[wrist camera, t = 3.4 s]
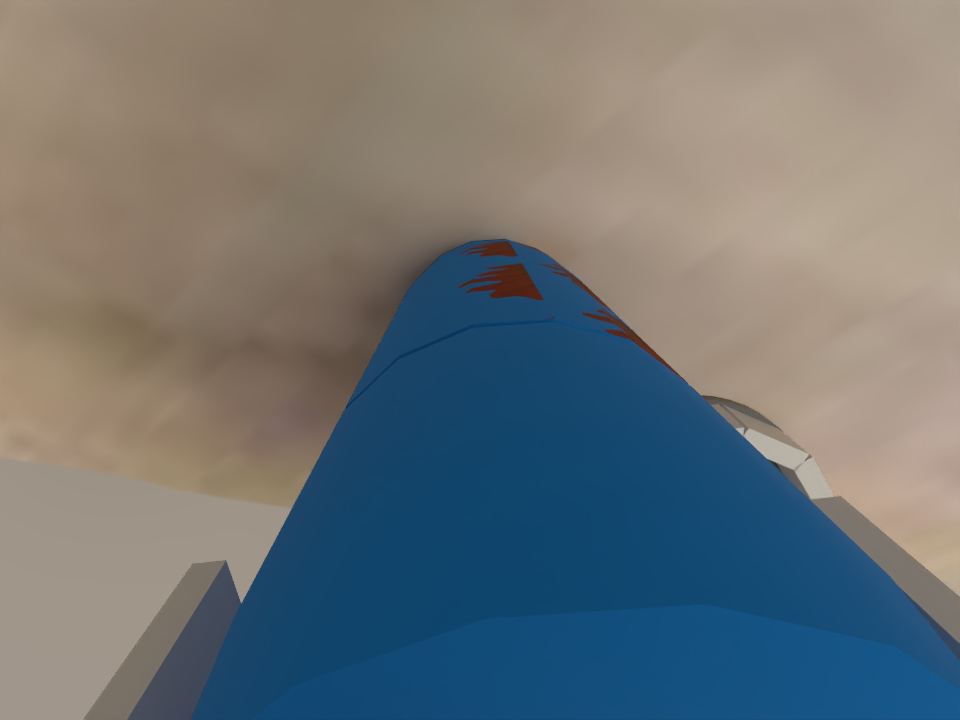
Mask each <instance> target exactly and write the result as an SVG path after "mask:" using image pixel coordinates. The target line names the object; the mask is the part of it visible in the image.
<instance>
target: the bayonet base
mask: <svg viewBox="0 0 960 720" xmlns="http://www.w3.org/2000/svg"><path fill="white" fill-rule="evenodd" d="M702 397H703V398H704V399H705V400H706V401H707V402H708V403H709V404H710V405H711V406H712V407H713V408H714V409H715V410H716V411H717V412H718V413H720V414H721V415H722V416H723V417H724V418H725V419H726V420H727V421H728V422H729V423H730V424H731V425H732V426H733V427H734V428H735V429H736V430H737V431H738V432H739V433H740V434H742V435H743V436H744V437H745V438H746V439H747V440H748V441H749V442H750V443H751V444H752V445H753V446H754V447H755V448H756V449H757V450H758V451H759V452H760V453H761V454H762V455H764V456H765V457H766V458H767V459H768V460H769V461H770V462H771V463H772V464H773V465H774V466H775V467H776V468H777V469H778V470H779V471H780V472H781V473H782V474H783V475H784V476H786V477H787V478H788V479H789V480H790V481H791V482H792V483H793V484H794V485H795V486H796V487H797V488H798V489H799V490H800V491H801V492H802V493H803V494H804V495H805V496H806V497H808V498H809V499H818V498H828V497H835V496H834V494H833V493H832V491H831V489H830V487H829V485H828V484H827V482H826V480H825V478H824V477H823V475H822V473H821V471H820V469H819V468H818V466H817V464H816V462H815V460H814V459H813V457H812V456H811V455H810V454H809V453H807V452H806V451H805V450H804V449H802V448H801V447H800V446H799V445H798V444H796V443H795V442H794V441H793V440H791V439H790V438H789V437H788V436H787V435H785V434H784V433H783V432H782V430H781V429H779V428H778V427H777V426H776V425H774V424H773V423H772V422H771V421H769V420H768V419H767V418H765V417H764V416H763V415H761V414H760V413H758V412H756V411H755V410H753V409H751V408H749V407H747V406H745V405H742V404H739V403H737V402H734V401H731V400H727V399H722V398H717V397H712V396H702Z"/></svg>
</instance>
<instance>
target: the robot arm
mask: <svg viewBox="0 0 960 720" xmlns="http://www.w3.org/2000/svg"><path fill="white" fill-rule="evenodd" d="M810 500H811V501H812V502H813V503H814V504H815V505H816V506H817V507H818V508H819V509H820V510H821V511H822V512H823V513H824V514H825V515H826V516H827V517H828V518H830V519H831V520H832V521H833V522H834V523H835V524H836V525H837V526H838V527H839V528H840V529H841V530H842V531H843V532H844V533H845V534H846V535H847V536H848V537H849V538H850V539H852V540H853V541H854V542H855V543H856V544H857V545H858V546H859V547H860V548H861V549H862V550H863V551H864V552H865V553H866V554H867V555H868V556H869V557H870V558H871V559H872V560H874V561H875V562H876V563H877V564H878V565H879V566H880V567H881V568H882V569H883V570H884V571H885V572H886V573H887V574H888V575H889V576H890V577H891V578H892V579H893V581H894V582H895V583H896V584H897V585H898V587H899V588H900V589H901V590H902V591H903V593H904V594H905V595H906V596H907V598H908V599H909V600H910V601H911V602H912V604H913V605H914V606H915V607H916V608H917V610H918V611H919V612H920V613H921V614H922V616H923V617H924V618H925V619H926V621H927V622H928V623H929V624H930V625H931V627H932V628H933V629H934V630H935V631H936V633H937V634H938V635H939V636H940V638H941V639H942V640H943V641H944V642H945V644H946V645H947V646H948V647H949V648H950V650H951V651H952V652H953V653H954V654H955V656H956V657H957V658H958V659H959V661H960V597H959V596H958V595H957V594H956V593H955V592H953V591H952V590H951V589H950V588H949V587H948V586H946V585H945V584H944V583H943V582H942V581H940V580H939V579H938V578H937V577H936V576H934V575H933V574H932V573H931V572H930V571H929V570H927V569H926V568H925V567H924V566H923V565H921V564H920V563H919V562H918V561H917V560H916V559H914V558H913V557H912V556H911V555H910V554H908V553H907V552H906V551H905V550H904V549H902V548H901V547H900V546H899V545H898V544H897V543H895V542H894V541H893V540H892V539H891V538H889V537H888V536H887V535H886V534H885V533H884V532H882V531H881V530H880V529H879V528H878V527H876V526H875V525H874V524H873V523H872V522H870V521H869V520H868V519H867V518H866V517H865V516H863V515H862V514H861V513H860V512H859V511H857V510H856V509H855V508H854V507H853V506H852V505H850V504H849V503H848V502H847V501H846V500H844V499H843V498H842V497H841V496H837V497H828V498H818V499H810ZM240 606H241V602H240V599H239V596H238V593H237V591H236V588H235V585H234V582H233V579H232V576H231V573H230V570H229V567H228V564H227V562H226V560H225V561H215V562H205V563H196V564H192V565H191V567H190V568H189V570H188V571H187V572H186V574H185V575H184V577H183V578H182V579H181V581H180V582H179V584H178V585H177V587H176V588H175V589H174V591H173V592H172V594H171V595H170V597H169V598H168V600H167V601H166V603H165V604H164V605H163V606H162V608H161V609H160V611H159V612H158V614H157V615H156V616H155V618H154V619H153V621H152V622H151V624H150V625H149V626H148V628H147V629H146V631H145V632H144V633H143V635H142V636H141V638H140V639H139V641H138V642H137V644H136V645H135V646H134V648H133V649H132V651H131V652H130V653H129V655H128V656H127V658H126V659H125V661H124V662H123V663H122V665H121V666H120V668H119V669H118V671H117V672H116V674H115V675H114V676H113V678H112V679H111V680H110V682H109V683H108V685H107V686H106V688H105V689H104V691H103V692H102V693H101V695H100V696H99V698H98V699H97V700H96V702H95V703H94V705H93V706H92V708H91V709H90V710H89V712H88V713H87V715H86V716H85V717H84V719H83V720H191V717H192V715H193V712H194V710H195V707H196V705H197V703H198V700H199V698H200V696H201V693H202V691H203V689H204V686H205V684H206V682H207V679H208V677H209V675H210V672H211V670H212V668H213V665H214V663H215V661H216V658H217V656H218V654H219V651H220V649H221V647H222V644H223V642H224V640H225V637H226V635H227V633H228V630H229V628H230V626H231V623H232V621H233V619H234V617H235V615H236V613H237V611H238V609H239V607H240Z"/></svg>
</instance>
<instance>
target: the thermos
mask: <svg viewBox="0 0 960 720" xmlns="http://www.w3.org/2000/svg"><path fill="white" fill-rule="evenodd" d="M191 720H960V661H959V659H958V658H957V657H956V656H955V654H954V653H953V652H952V651H951V650H950V648H949V647H948V646H947V645H946V644H945V642H944V641H943V640H942V639H941V638H940V636H939V635H938V634H937V633H936V631H935V630H934V629H933V628H932V627H931V625H930V624H929V623H928V622H927V621H926V619H925V618H924V617H923V616H922V614H921V613H920V612H919V611H918V610H917V608H916V607H915V606H914V605H913V604H912V602H911V601H910V600H909V599H908V598H907V596H906V595H905V594H904V593H903V591H902V590H901V589H900V588H899V587H898V585H897V584H896V583H895V582H894V581H893V579H892V578H891V577H890V576H889V575H888V574H887V573H886V572H885V571H884V570H883V569H882V568H881V567H880V566H879V565H878V564H877V563H876V562H875V561H874V560H872V559H871V558H870V557H869V556H868V555H867V554H866V553H865V552H864V551H863V550H862V549H861V548H860V547H859V546H858V545H857V544H856V543H855V542H854V541H853V540H852V539H850V538H849V537H848V536H847V535H846V534H845V533H844V532H843V531H842V530H841V529H840V528H839V527H838V526H837V525H836V524H835V523H834V522H833V521H832V520H831V519H830V518H828V517H827V516H826V515H825V514H824V513H823V512H822V511H821V510H820V509H819V508H818V507H817V506H816V505H815V504H814V503H813V502H812V501H811V500H810V499H809V498H808V497H806V496H805V495H804V494H803V493H802V492H801V491H800V490H799V489H798V488H797V487H796V486H795V485H794V484H793V483H792V482H791V481H790V480H789V479H788V478H787V477H786V476H784V475H783V474H782V473H781V472H780V471H779V470H778V469H777V468H776V467H775V466H774V465H773V464H772V463H771V462H770V461H769V460H768V459H767V458H766V457H765V456H764V455H762V454H761V453H760V452H759V451H758V450H757V449H756V448H755V447H754V446H753V445H752V444H751V443H750V442H749V441H748V440H747V439H746V438H745V437H744V436H743V435H742V434H740V433H739V432H738V431H737V430H736V429H735V428H734V427H733V426H732V425H731V424H730V423H729V422H728V421H727V420H726V419H725V418H724V417H723V416H722V415H721V414H720V413H718V412H717V411H716V410H715V409H714V408H713V407H712V406H711V405H710V404H709V403H708V402H707V401H706V400H705V399H704V398H703V397H702V396H701V395H700V394H699V393H698V392H696V391H695V390H694V389H693V388H692V387H691V386H690V385H688V383H687V382H686V381H685V380H684V379H683V378H682V377H681V376H680V375H679V374H678V373H677V372H676V371H674V370H673V369H672V368H671V367H670V366H669V365H668V364H667V363H666V362H665V361H664V360H663V359H662V358H661V357H660V356H659V355H658V354H657V353H656V352H655V351H654V350H652V349H651V348H650V347H649V346H648V345H647V344H646V343H645V342H644V341H643V340H642V339H641V338H640V337H639V336H638V335H637V334H636V333H635V332H634V331H633V330H632V329H630V328H629V327H628V326H627V325H626V324H625V323H624V322H623V321H622V320H621V319H620V318H619V317H618V316H617V315H616V314H615V313H614V312H613V311H612V310H611V309H610V308H608V307H607V306H606V305H605V304H604V303H603V302H602V301H601V300H600V299H599V298H598V297H597V296H596V295H595V294H594V293H593V292H592V291H591V290H590V289H589V288H588V287H586V286H585V285H584V284H583V283H582V282H581V281H580V280H579V279H578V278H577V277H576V276H574V275H573V274H572V273H570V272H569V271H568V270H566V269H565V268H564V267H562V266H561V265H560V264H559V263H557V262H556V261H555V260H553V259H552V258H551V257H549V256H548V255H547V254H545V253H543V252H541V251H540V250H538V249H536V248H533V247H530V246H526V245H523V244H520V243H516V242H513V241H509V240H506V239H498V240H484V241H471V242H469V243H467V244H465V245H462V246H460V247H458V248H456V249H454V250H451V251H449V252H447V253H445V254H443V255H441V256H440V257H439V258H438V259H437V260H436V261H435V262H434V263H433V264H432V265H431V266H430V267H429V268H428V269H427V270H426V271H425V272H424V273H423V274H422V275H421V276H420V277H419V278H418V279H417V280H416V282H415V283H414V284H413V285H412V286H411V287H410V288H409V289H408V291H407V293H406V295H405V297H404V299H403V301H402V302H401V304H400V306H399V308H398V310H397V312H396V314H395V316H394V317H393V319H392V321H391V323H390V325H389V327H388V329H387V331H386V333H385V334H384V336H383V338H382V340H381V342H380V344H379V346H378V348H377V349H376V351H375V353H374V355H373V357H372V359H371V361H370V363H369V365H368V366H367V368H366V370H365V372H364V374H363V376H362V378H361V380H360V381H359V383H358V385H357V387H356V389H355V391H354V393H353V395H352V397H351V398H350V400H349V402H348V404H347V406H346V408H345V410H344V412H343V414H342V415H341V417H340V419H339V421H338V423H337V425H336V427H335V429H334V430H333V432H332V434H331V436H330V438H329V440H328V442H327V444H326V446H325V447H324V449H323V451H322V453H321V455H320V457H319V459H318V461H317V462H316V464H315V466H314V468H313V470H312V472H311V474H310V476H309V478H308V479H307V481H306V483H305V485H304V487H303V489H302V491H301V493H300V494H299V496H298V498H297V500H296V502H295V504H294V506H293V508H292V510H291V511H290V514H289V515H288V517H287V519H286V521H285V523H284V525H283V527H282V528H281V530H280V532H279V534H278V536H277V538H276V540H275V542H274V543H273V545H272V547H271V549H270V551H269V553H268V555H267V557H266V558H265V560H264V562H263V564H262V566H261V568H260V570H259V572H258V574H257V575H256V578H255V579H254V581H253V583H252V585H251V587H250V589H249V591H248V593H247V594H246V596H245V598H244V600H243V602H242V604H241V606H240V607H239V609H238V611H237V613H236V615H235V617H234V619H233V621H232V623H231V626H230V628H229V630H228V633H227V635H226V637H225V640H224V642H223V644H222V647H221V649H220V651H219V654H218V656H217V658H216V661H215V663H214V665H213V668H212V670H211V672H210V675H209V677H208V679H207V682H206V684H205V686H204V689H203V691H202V693H201V696H200V698H199V700H198V703H197V705H196V707H195V710H194V712H193V715H192V717H191Z"/></svg>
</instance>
